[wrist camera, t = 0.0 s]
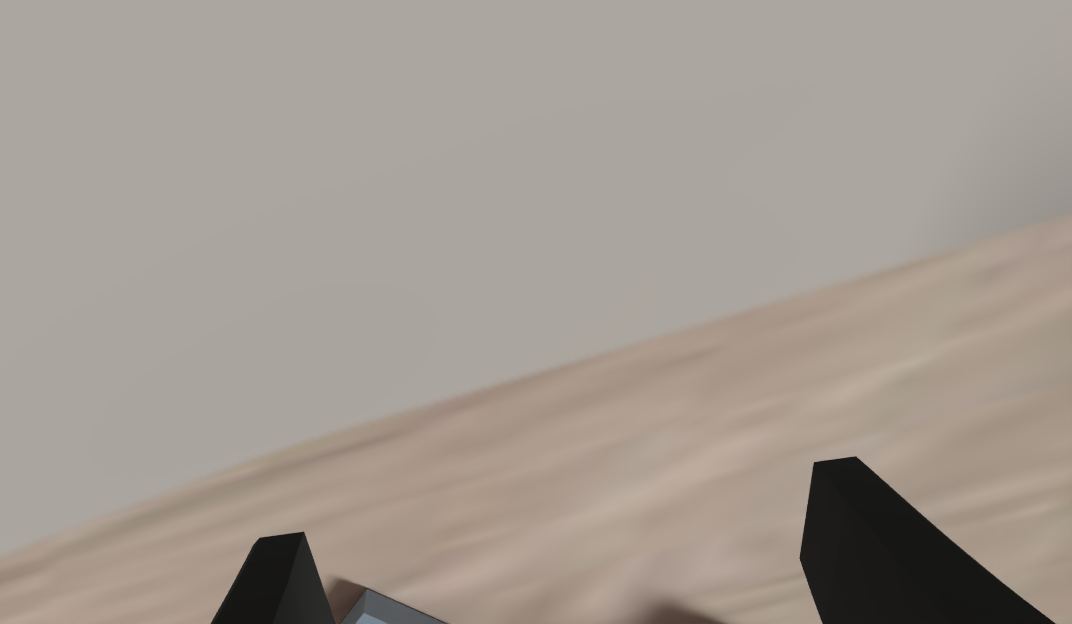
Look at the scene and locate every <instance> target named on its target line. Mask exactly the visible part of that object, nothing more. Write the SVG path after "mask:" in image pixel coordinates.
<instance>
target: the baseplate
mask: <svg viewBox="0 0 1072 624" xmlns="http://www.w3.org/2000/svg"><path fill="white" fill-rule="evenodd" d="M341 624H445V623H443V622H441V621H438V620H436V619H434V618H432V617H429V616H427V615H425V614H423V613H420V612H418V611H416V610H414V609H411V608H409V607H407V606H405V605H402V604H400V603H398V602H396V601H393V600H391V599H389V598H387V597H384V596H382V595H380V594H378V593H375V592H373V591H371V590H368V589H366V591H365V592H364V593H363V595H362V596H361V597H360V599H359V600H358V601H357V603H356V604H355V605H354V607H353V608H352V609H351V611H350V612H349V613H348V615H347V616H346V617H345V619H344V620H343V621H342V623H341Z"/></svg>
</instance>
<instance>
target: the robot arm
mask: <svg viewBox="0 0 1072 624" xmlns="http://www.w3.org/2000/svg"><path fill="white" fill-rule="evenodd" d="M800 561H801V564H802V567H803V570H804V573H805V576H806V579H807V582H808V584H809V587H810V590H811V593H812V596H813V599H814V601H815V604H816V607H817V610H818V612H819V615H820V618H821V620H822V623H823V624H1055V623H1054V622H1053V621H1051V620H1050V619H1049V618H1048V617H1046V616H1045V615H1044V614H1042V613H1041V612H1040V611H1038V610H1037V609H1036V608H1034V607H1033V606H1032V605H1030V604H1029V603H1028V602H1026V601H1025V600H1024V599H1023V598H1021V597H1020V596H1019V595H1018V594H1016V593H1015V592H1014V591H1012V590H1011V589H1010V588H1009V587H1007V586H1006V585H1005V584H1004V583H1002V582H1001V581H1000V580H999V579H997V578H996V577H995V576H994V575H993V574H991V573H990V572H989V571H988V570H987V569H985V568H984V567H983V566H982V565H980V564H979V563H978V562H977V561H976V560H974V559H973V558H972V557H971V556H970V555H968V554H967V553H966V552H965V551H964V550H962V549H961V548H960V547H959V546H958V545H956V544H955V543H954V542H953V541H952V540H950V539H949V538H948V537H947V536H946V535H945V534H943V533H942V532H941V531H940V530H939V529H938V528H937V527H935V526H934V525H933V524H932V523H931V522H930V521H929V520H927V519H926V518H925V517H924V516H923V515H922V514H921V513H919V512H918V511H917V510H916V509H915V508H914V507H913V506H911V505H910V504H909V503H908V502H907V501H906V500H905V499H904V498H902V497H901V496H900V495H899V494H898V493H897V492H896V491H895V490H893V489H892V488H891V487H890V486H889V485H888V484H887V483H886V482H885V481H883V480H882V479H881V478H880V477H879V476H878V475H877V474H876V473H874V472H873V471H872V470H871V469H870V468H869V467H868V466H866V465H865V464H864V463H863V462H862V461H861V460H859V459H858V458H857V457H848V458H841V459H834V460H826V461H819V462H814V466H813V472H812V479H811V485H810V492H809V499H808V505H807V512H806V519H805V525H804V532H803V539H802V545H801V552H800ZM211 624H335V621H334V618H333V615H332V612H331V609H330V606H329V603H328V600H327V598H326V595H325V592H324V589H323V586H322V583H321V580H320V577H319V574H318V571H317V568H316V565H315V562H314V559H313V556H312V553H311V550H310V548H309V545H308V542H307V539H306V536H305V533H304V532H299V533H291V534H284V535H277V536H269V537H262V538H259V539H258V540H257V541H256V543H255V544H254V545H253V547H252V549H251V551H250V553H249V554H248V556H247V558H246V560H245V562H244V564H243V566H242V568H241V570H240V572H239V573H238V575H237V577H236V579H235V581H234V583H233V585H232V586H231V588H230V590H229V592H228V594H227V596H226V597H225V599H224V601H223V603H222V605H221V606H220V608H219V610H218V612H217V613H216V615H215V617H214V619H213V621H212V622H211Z"/></svg>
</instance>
